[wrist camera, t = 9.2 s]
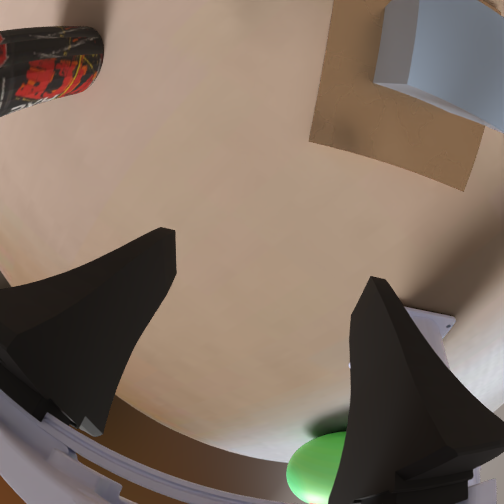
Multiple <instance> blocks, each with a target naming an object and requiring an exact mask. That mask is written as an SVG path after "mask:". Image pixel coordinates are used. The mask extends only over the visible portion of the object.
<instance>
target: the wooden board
mask: <svg viewBox="0 0 504 504" xmlns="http://www.w3.org/2000/svg"><path fill="white" fill-rule="evenodd" d="M478 1H480V2H481V3H483V4H484V5H486V6H487V7H489V8H491V9H492V10H494V11H495V12H497V13H498V14H499V15H501V12H500V11H499V10H497V9H496V8H494V7H493V6H491V5H490V4H488V3H487V2H485V1H484V0H478ZM390 2H391V0H334V3H333V10H332V16H331V23H330V29H329V35H328V41H327V47H326V52H325V58H324V64H323V69H322V75H321V80H320V86H319V91H318V96H317V101H316V107H315V112H314V117H313V122H312V127H311V132H310V137H309V142H313V143H317V144H321V145H325V146H329V147H333V148H337V149H341V150H345V151H349V152H352V153H356V154H359V155H363V156H366V157H369V158H373V159H376V160H379V161H382V162H386V163H389V164H392V165H395V166H398V167H401V168H404V169H406V170H409V171H412V172H415V173H418V174H420V175H423V176H426V177H428V178H431V179H434V180H436V181H439V182H441V183H444V184H446V185H449V186H451V187H454V188H456V189H458V190H461V191H463V192H464V189H465V187H466V184H467V181H468V179H469V176H470V173H471V170H472V167H473V164H474V161H475V158H476V155H477V152H478V149H479V146H480V142H481V139H482V135H483V132H484V128H485V125H482V124H480V123H477V122H475V121H472V120H469V119H467V118H464V117H461V116H458V115H455V114H452V113H450V112H447V111H445V110H443V109H441V108H439V107H436V106H434V105H432V104H429V103H427V102H425V101H422V100H420V99H417V98H415V97H412V96H410V95H407V94H404V93H402V92H399V91H396V90H393V89H390V88H387V87H384V86H381V85H378V84H375V83H373V80H374V75H375V70H376V64H377V59H378V53H379V47H380V41H381V34H382V28H383V20H384V13H385V7H386V6H387V5H388V4H389V3H390Z"/></svg>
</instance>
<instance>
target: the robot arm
mask: <svg viewBox="0 0 504 504" xmlns="http://www.w3.org/2000/svg"><path fill="white" fill-rule="evenodd" d="M176 274H177V271H176V241H175V230H171V229H167V228H163V227H160V228H157V229H155V230H153V231H151V232H149V233H147V234H145V235H143V236H141V237H139V238H137V239H135V240H133V241H131V242H129V243H128V244H126V245H124V246H122V247H120V248H118V249H116V250H114V251H112V252H110V253H108V254H106V255H104V256H102V257H100V258H98V259H96V260H94V261H91V262H89V263H87V264H85V265H82V266H80V267H77V268H75V269H72V270H70V271H67V272H65V273H62V274H59V275H56V276H52V277H49V278H46V279H43V280H40V281H37V282H33V283H29V284H25V285H20V286H16V287H11V288H5V289H0V475H1V476H2V477H3V478H4V480H5V481H6V482H7V483H8V484H9V485H10V486H11V487H12V489H13V490H14V491H15V492H16V493H17V494H18V495H19V496H20V497H21V498H22V499H23V500H24V501H25V502H26V503H27V504H137V503H135V502H132V501H130V500H128V499H125V498H123V497H121V496H119V493H120V491H121V489H122V486H121V484H119V483H117V482H115V481H113V480H111V479H109V478H107V477H105V476H103V475H101V474H99V473H98V472H96V471H94V470H92V469H90V468H89V467H87V466H85V465H83V464H82V463H80V462H79V461H78V460H77V455H76V453H78V454H80V455H81V456H83V457H85V458H86V459H88V460H90V461H92V462H93V463H95V464H97V465H99V466H101V467H103V468H105V469H106V470H109V471H110V472H113V473H114V474H116V475H118V476H121V477H123V478H125V479H127V480H129V481H131V482H134V483H136V484H138V485H141V486H143V487H145V488H148V489H150V490H153V491H155V492H158V493H161V494H163V495H166V496H169V497H171V498H174V499H177V500H180V501H183V502H187V503H190V504H295V503H286V502H278V501H271V500H264V499H258V498H252V497H248V496H243V495H238V494H233V493H228V492H225V491H220V490H216V489H213V488H209V487H205V486H202V485H198V484H195V483H192V482H189V481H185V480H183V479H180V478H177V477H174V476H171V475H168V474H165V473H163V472H160V471H157V470H155V469H152V468H150V467H147V466H145V465H143V464H140V463H138V462H135V461H133V460H131V459H129V458H127V457H125V456H122V455H120V454H118V453H116V452H114V451H112V450H110V449H108V448H106V447H104V446H102V445H100V444H99V443H96V442H95V441H93V440H91V439H90V438H88V437H86V436H84V435H83V434H81V433H79V432H77V431H76V430H74V429H72V428H71V427H69V424H70V425H72V426H73V427H75V428H77V429H78V428H80V429H81V430H83V431H85V432H87V433H88V434H90V435H92V436H94V437H97V436H100V435H102V434H103V432H104V428H105V424H106V421H107V417H108V413H109V410H110V406H111V404H112V401H113V398H114V395H115V392H116V389H117V386H118V384H119V381H120V379H121V376H122V374H123V371H124V369H125V366H126V364H127V362H128V360H129V358H130V355H131V353H132V351H133V349H134V347H135V345H136V343H137V341H138V339H139V338H140V336H141V335H142V333H143V331H144V330H145V328H146V327H147V325H148V323H149V322H150V320H151V319H152V317H153V316H154V314H155V312H156V311H157V309H158V308H159V306H160V304H161V303H162V301H163V300H164V298H165V297H166V295H167V293H168V291H169V289H170V287H171V285H172V282H173V280H174V278H175V276H176ZM455 322H456V320H455V317H453V316H448V315H443V314H438V313H433V312H428V311H424V310H419V309H414V308H409V307H404V306H403V304H402V303H401V301H400V300H399V298H398V297H397V295H396V294H395V292H394V291H393V289H392V288H391V286H390V285H389V283H388V282H387V281H386V280H385V279H381V278H377V277H373V276H370V278H369V280H368V283H367V285H366V287H365V289H364V291H363V293H362V295H361V297H360V299H359V301H358V303H357V305H356V307H355V309H354V311H353V312H352V314H351V322H350V336H349V346H350V362H349V368H350V374H351V399H350V409H349V417H348V424H347V430H346V436H345V441H344V447H343V451H342V455H341V459H340V464H339V468H338V471H337V474H336V478H335V481H334V484H333V487H332V490H331V493H330V496H329V499H328V504H496V503H497V501H496V500H497V495H496V479H495V478H493V479H491V480H487V481H484V482H481V483H480V470H481V465H483V464H484V463H486V462H488V461H490V460H492V459H493V458H495V457H497V456H499V455H500V454H501V453H503V452H504V422H503V421H502V420H501V419H500V418H499V417H497V416H496V415H495V414H494V413H493V412H491V411H490V410H489V409H488V408H486V407H485V406H484V405H483V404H482V403H481V402H480V401H479V400H478V399H477V398H476V397H474V396H473V395H472V394H471V393H470V392H469V391H468V390H467V389H466V388H465V387H464V385H463V384H462V383H461V382H460V381H459V380H458V379H457V378H456V377H455V376H454V374H453V373H452V372H451V371H450V368H449V364H448V360H447V356H446V352H445V348H444V344H443V341H442V339H443V338H444V336H445V335H446V334H447V333H448V331H449V330H450V329H451V328H452V326H453V325H454V324H455ZM74 451H75V452H76V453H75V452H74Z"/></svg>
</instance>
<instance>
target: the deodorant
mask: <svg viewBox="0 0 504 504" xmlns="http://www.w3.org/2000/svg"><path fill="white" fill-rule="evenodd" d="M103 55H104V51H103V43H102V39H101V37H100V35H99V34H98V32H97V31H96V30H94V29H93V28H90V27H81V26H54V27H34V28H22V29H13V30H6V31H0V117H2V116H4V115H7V114H9V113H12V112H15V111H18V110H21V109H24V108H27V107H30V106H33V105H36V104H39V103H43V102H46V101H49V100H53V99H57V98H61V97H64V96H68V95H73V94H77V93H80V92H83V91H84V90H86V89H87V88H88V87H90V85H91V84H92V83H93V82H94V81H95V79H96V77H97V75H98V74H99V72H100V69H101V66H102V62H103Z"/></svg>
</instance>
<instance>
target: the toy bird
mask: <svg viewBox="0 0 504 504" xmlns="http://www.w3.org/2000/svg"><path fill="white" fill-rule="evenodd" d="M345 436H346V431H344V432H336V433H331V434H327V435H323V436H320V437H318V438H315V439H313V440H311V441H309V442H307V443H306V444H304V445H303V446H301V447H300V448H299V449H298V450H297V451H296V452H295V453H294V454H293V456H292V457H291V459H290V461H289V463H288V466H287V473H286V475H287V481H288V485H289V487H290V489H291V490H292V492H293V493H294V494H295V495H296V496H297V497H298V498H300V499H301V500H302V501H304V502H306V503H309V504H328V499H329V496H330V493H331V490H332V487H333V484H334V481H335V478H336V474H337V471H338V468H339V464H340V459H341V455H342V451H343V447H344V441H345Z"/></svg>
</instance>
